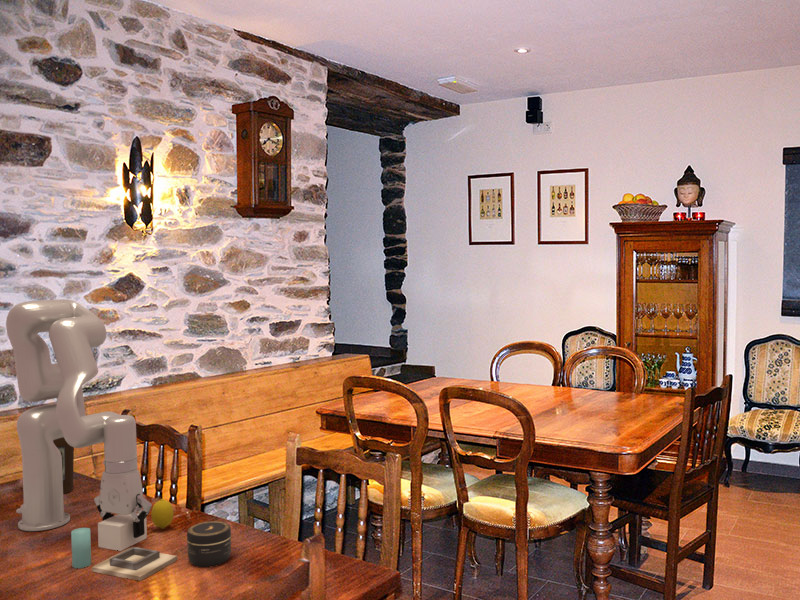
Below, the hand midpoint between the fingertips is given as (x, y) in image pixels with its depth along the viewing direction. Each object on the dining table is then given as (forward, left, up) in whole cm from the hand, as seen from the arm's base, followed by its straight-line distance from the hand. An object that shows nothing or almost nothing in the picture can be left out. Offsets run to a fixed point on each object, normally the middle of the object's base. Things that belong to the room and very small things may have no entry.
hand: (123, 533), depth 179 cm
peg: (+1, -14, -2) cm, 14 cm away
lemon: (+3, +11, -3) cm, 12 cm away
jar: (+27, -1, -3) cm, 27 cm away
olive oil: (-50, +25, -3) cm, 56 cm away
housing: (0, 0, -2) cm, 2 cm away
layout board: (+13, -10, -2) cm, 16 cm away
